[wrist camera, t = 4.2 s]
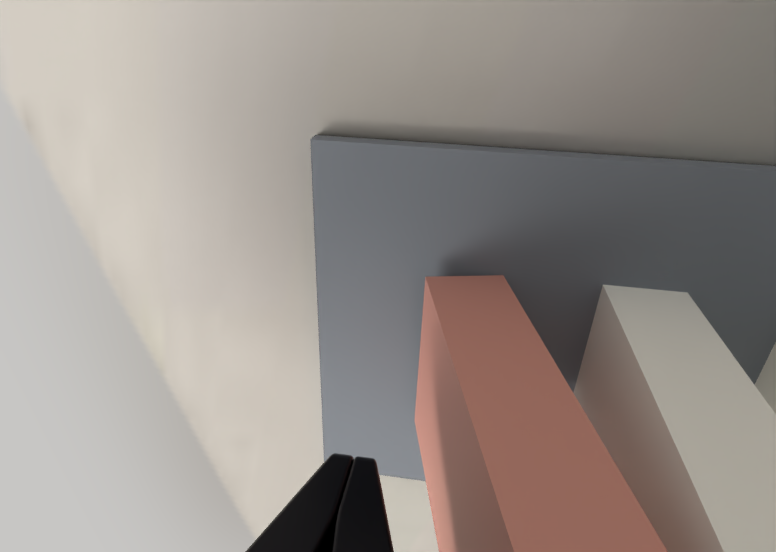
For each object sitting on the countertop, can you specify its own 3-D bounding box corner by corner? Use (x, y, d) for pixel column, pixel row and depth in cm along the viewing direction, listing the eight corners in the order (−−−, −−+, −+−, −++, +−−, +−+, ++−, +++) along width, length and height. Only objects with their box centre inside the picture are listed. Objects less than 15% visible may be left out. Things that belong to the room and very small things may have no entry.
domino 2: (634, 436, 13) (862, 1053, 6) (563, 427, 14) (688, 1011, 6) (687, 292, 11) (1173, 963, 3) (602, 284, 11) (885, 904, 4)
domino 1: (480, 417, 14) (671, 972, 6) (414, 420, 14) (523, 996, 6) (503, 275, 12) (846, 851, 4) (425, 276, 12) (620, 882, 4)
